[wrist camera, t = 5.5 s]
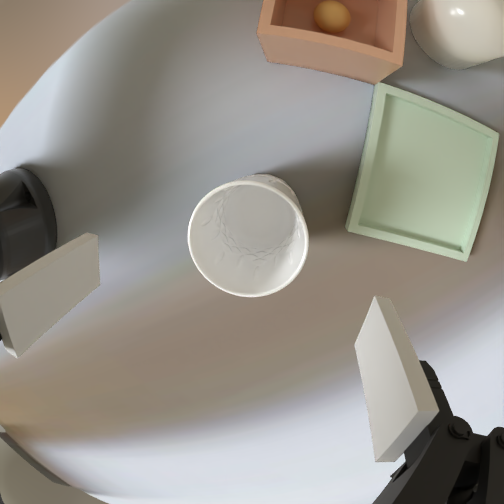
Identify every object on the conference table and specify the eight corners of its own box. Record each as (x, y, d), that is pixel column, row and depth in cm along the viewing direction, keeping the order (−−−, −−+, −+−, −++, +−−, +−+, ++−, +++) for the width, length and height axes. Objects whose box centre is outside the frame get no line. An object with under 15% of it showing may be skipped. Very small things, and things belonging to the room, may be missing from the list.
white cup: (279, 152, 27) (270, 157, 17) (319, 225, 28) (329, 267, 19) (207, 193, 29) (166, 219, 20) (248, 260, 31) (227, 313, 21)
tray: (344, 226, 28) (347, 231, 27) (374, 85, 23) (378, 82, 21) (460, 256, 27) (466, 261, 26) (491, 133, 22) (499, 133, 20)
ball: (310, 33, 21) (311, 20, 18) (314, 6, 20) (316, -9, 17) (345, 40, 21) (351, 29, 18) (349, 13, 20) (354, -1, 17)
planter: (267, 61, 24) (256, 33, 16) (283, -21, 20) (278, -64, 12) (374, 85, 23) (402, 66, 15) (384, 1, 19) (407, -35, 12)
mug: (407, 51, 21) (446, 22, 13) (410, -26, 17) (439, -65, 9) (476, 82, 20) (527, 71, 12) (476, 5, 16) (516, -20, 8)
